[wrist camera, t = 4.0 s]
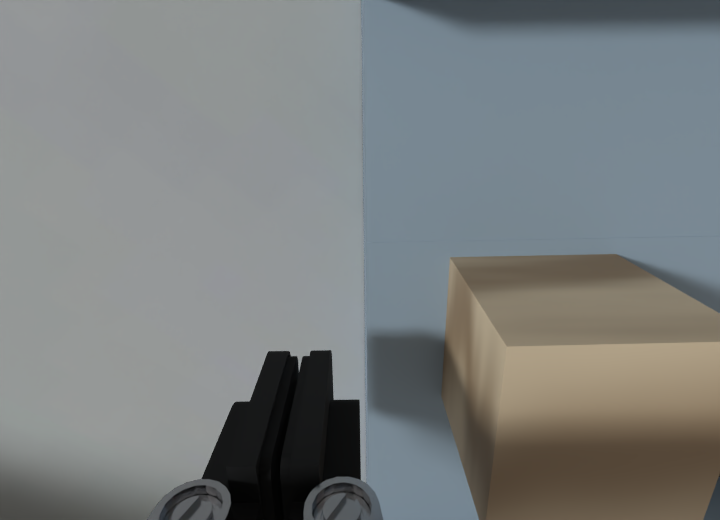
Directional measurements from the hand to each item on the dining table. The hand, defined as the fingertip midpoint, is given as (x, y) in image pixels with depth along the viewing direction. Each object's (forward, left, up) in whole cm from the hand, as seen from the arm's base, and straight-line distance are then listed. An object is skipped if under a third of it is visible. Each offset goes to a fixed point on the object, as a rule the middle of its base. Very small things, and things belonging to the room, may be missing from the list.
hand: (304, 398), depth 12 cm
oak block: (-1, +7, -3) cm, 7 cm away
